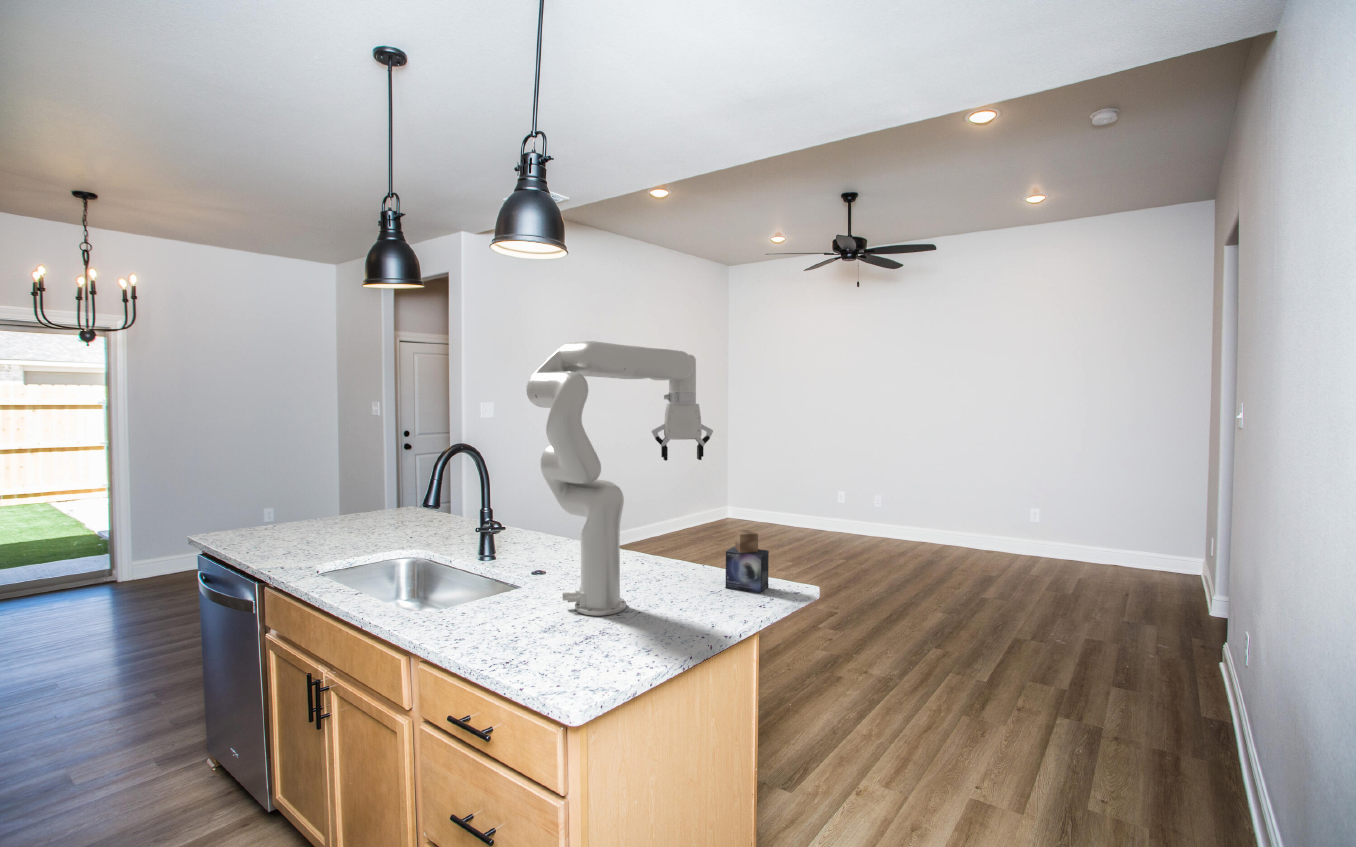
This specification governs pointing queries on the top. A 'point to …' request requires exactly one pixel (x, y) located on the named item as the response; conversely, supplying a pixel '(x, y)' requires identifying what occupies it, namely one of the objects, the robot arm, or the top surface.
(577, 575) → the top surface
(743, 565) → the small box
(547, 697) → the top surface
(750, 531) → the walnut cube
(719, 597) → the top surface
